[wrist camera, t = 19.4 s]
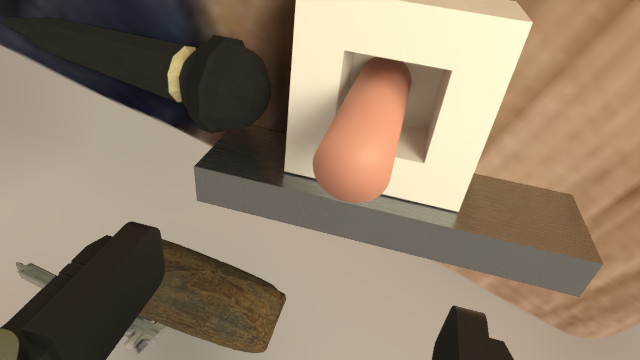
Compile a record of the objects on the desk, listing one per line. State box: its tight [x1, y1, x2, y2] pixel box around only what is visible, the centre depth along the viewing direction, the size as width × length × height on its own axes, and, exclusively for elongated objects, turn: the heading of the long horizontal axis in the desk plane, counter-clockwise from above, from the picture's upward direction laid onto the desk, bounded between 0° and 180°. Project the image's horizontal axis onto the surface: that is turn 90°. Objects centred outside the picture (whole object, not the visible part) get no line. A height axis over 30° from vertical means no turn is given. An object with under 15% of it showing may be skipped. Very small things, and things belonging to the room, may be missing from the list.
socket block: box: [284, 0, 533, 212], centre depth 22 cm, size 10×10×5 cm
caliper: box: [16, 262, 170, 355], centre depth 42 cm, size 20×1×6 cm, turn 88°
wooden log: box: [139, 239, 286, 353], centre depth 35 cm, size 15×7×7 cm, turn 76°
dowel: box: [313, 56, 411, 203], centre depth 19 cm, size 3×3×10 cm
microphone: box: [2, 17, 271, 133], centre depth 26 cm, size 6×6×20 cm
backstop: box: [194, 125, 603, 297], centre depth 25 cm, size 22×2×6 cm, turn 83°
